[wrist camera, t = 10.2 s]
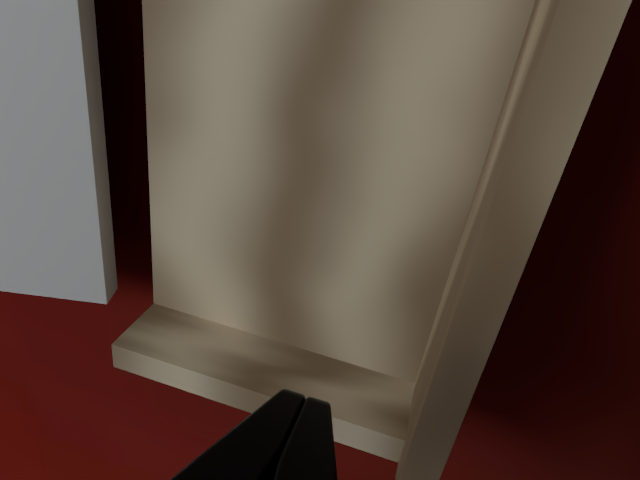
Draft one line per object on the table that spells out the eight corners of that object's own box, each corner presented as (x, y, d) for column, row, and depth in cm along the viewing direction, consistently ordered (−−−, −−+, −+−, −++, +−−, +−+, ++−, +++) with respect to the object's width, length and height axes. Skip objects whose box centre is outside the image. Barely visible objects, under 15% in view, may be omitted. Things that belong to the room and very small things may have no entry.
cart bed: (606, -97, 13) (694, -154, 8) (440, 379, 22) (426, 510, 17) (172, -149, 16) (7, -221, 10) (177, 300, 25) (89, 392, 19)
